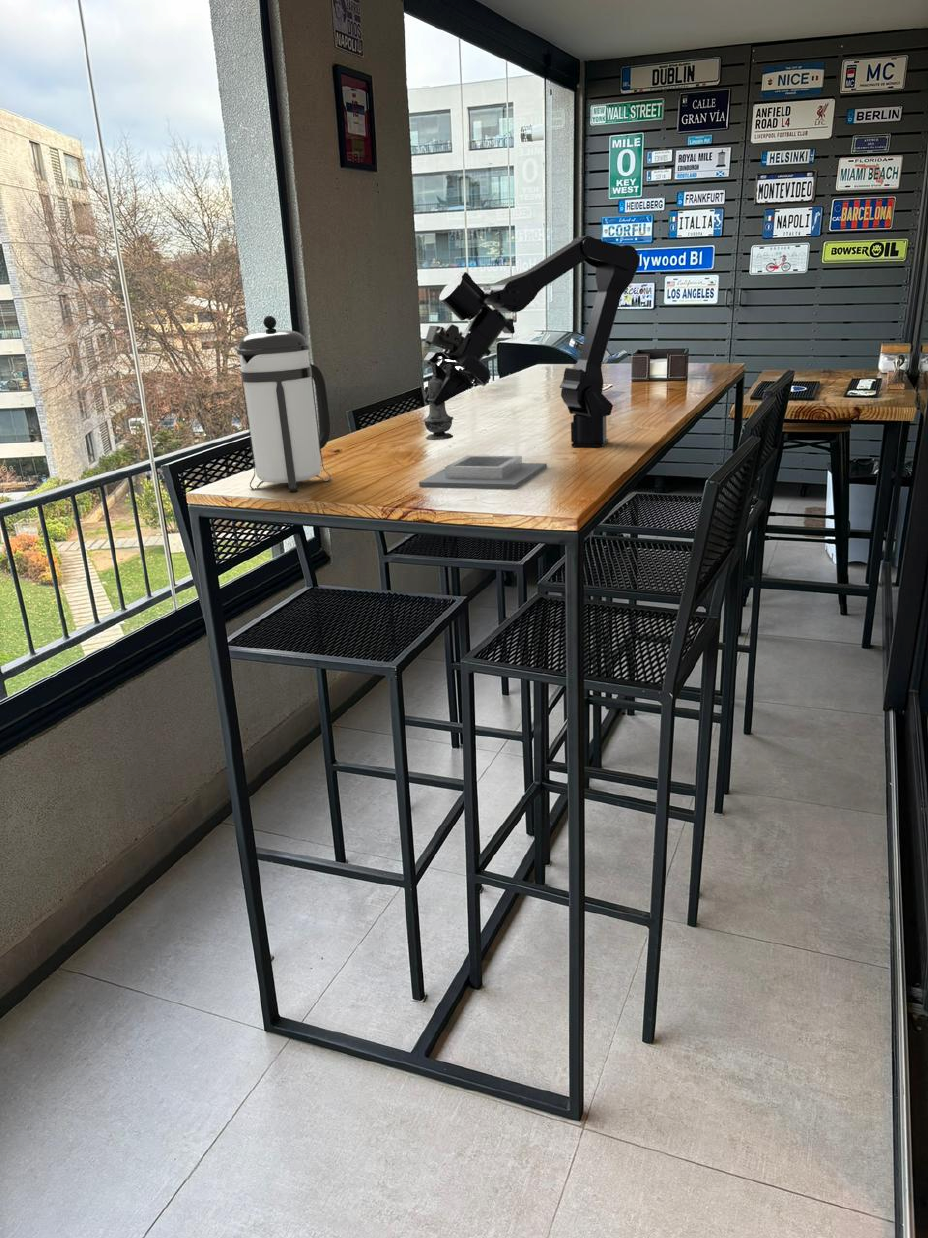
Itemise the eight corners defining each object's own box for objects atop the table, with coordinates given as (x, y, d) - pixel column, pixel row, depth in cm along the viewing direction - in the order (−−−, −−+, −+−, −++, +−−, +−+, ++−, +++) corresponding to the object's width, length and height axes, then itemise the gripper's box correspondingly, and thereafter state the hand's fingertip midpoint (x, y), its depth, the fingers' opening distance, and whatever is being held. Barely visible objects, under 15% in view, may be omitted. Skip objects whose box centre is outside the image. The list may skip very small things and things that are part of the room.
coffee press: (338, 488, 163) (318, 313, 153) (248, 497, 161) (222, 319, 151) (335, 470, 179) (317, 311, 169) (253, 478, 177) (229, 317, 167)
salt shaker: (452, 439, 171) (447, 374, 167) (422, 440, 172) (416, 376, 168) (456, 434, 177) (452, 370, 172) (427, 435, 178) (421, 372, 173)
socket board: (546, 467, 169) (546, 463, 169) (515, 488, 154) (515, 484, 153) (458, 466, 176) (457, 462, 176) (419, 486, 160) (418, 481, 160)
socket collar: (522, 466, 167) (521, 456, 166) (502, 479, 158) (501, 467, 157) (468, 465, 171) (467, 455, 170) (445, 478, 162) (444, 466, 161)
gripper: (429, 308, 176) (381, 372, 175) (470, 307, 160) (418, 379, 159) (468, 346, 181) (422, 409, 181) (512, 349, 165) (462, 418, 165)
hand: (430, 403), depth 171 cm, fingers closed on salt shaker, 4 cm apart
